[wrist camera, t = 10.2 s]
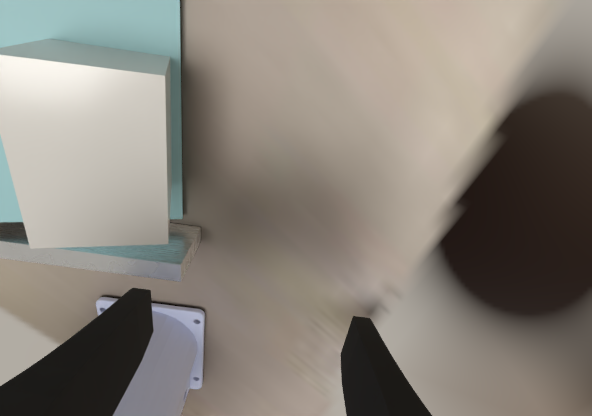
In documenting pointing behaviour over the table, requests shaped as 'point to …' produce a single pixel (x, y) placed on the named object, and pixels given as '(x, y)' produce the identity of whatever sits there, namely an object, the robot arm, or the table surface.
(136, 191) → the stone block
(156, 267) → the frame
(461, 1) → the table surface
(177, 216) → the trapdoor
